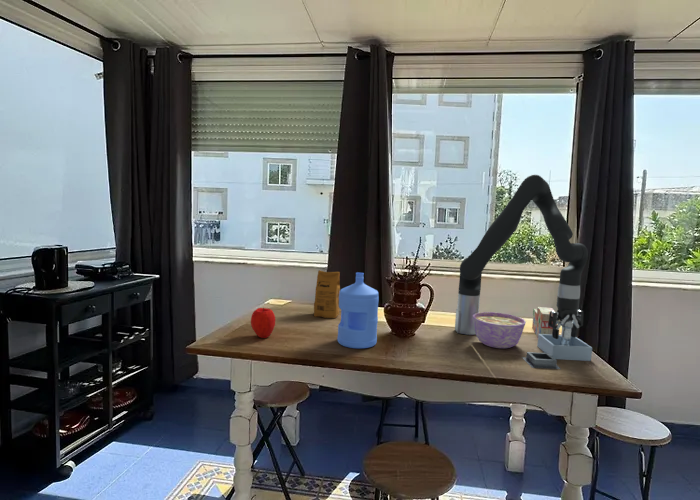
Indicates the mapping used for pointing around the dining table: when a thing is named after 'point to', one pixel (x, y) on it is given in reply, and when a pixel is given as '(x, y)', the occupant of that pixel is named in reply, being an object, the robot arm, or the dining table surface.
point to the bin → (564, 348)
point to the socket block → (541, 360)
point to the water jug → (358, 315)
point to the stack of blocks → (542, 321)
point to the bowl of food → (498, 329)
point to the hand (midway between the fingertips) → (564, 337)
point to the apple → (263, 322)
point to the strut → (566, 333)
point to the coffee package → (327, 295)
